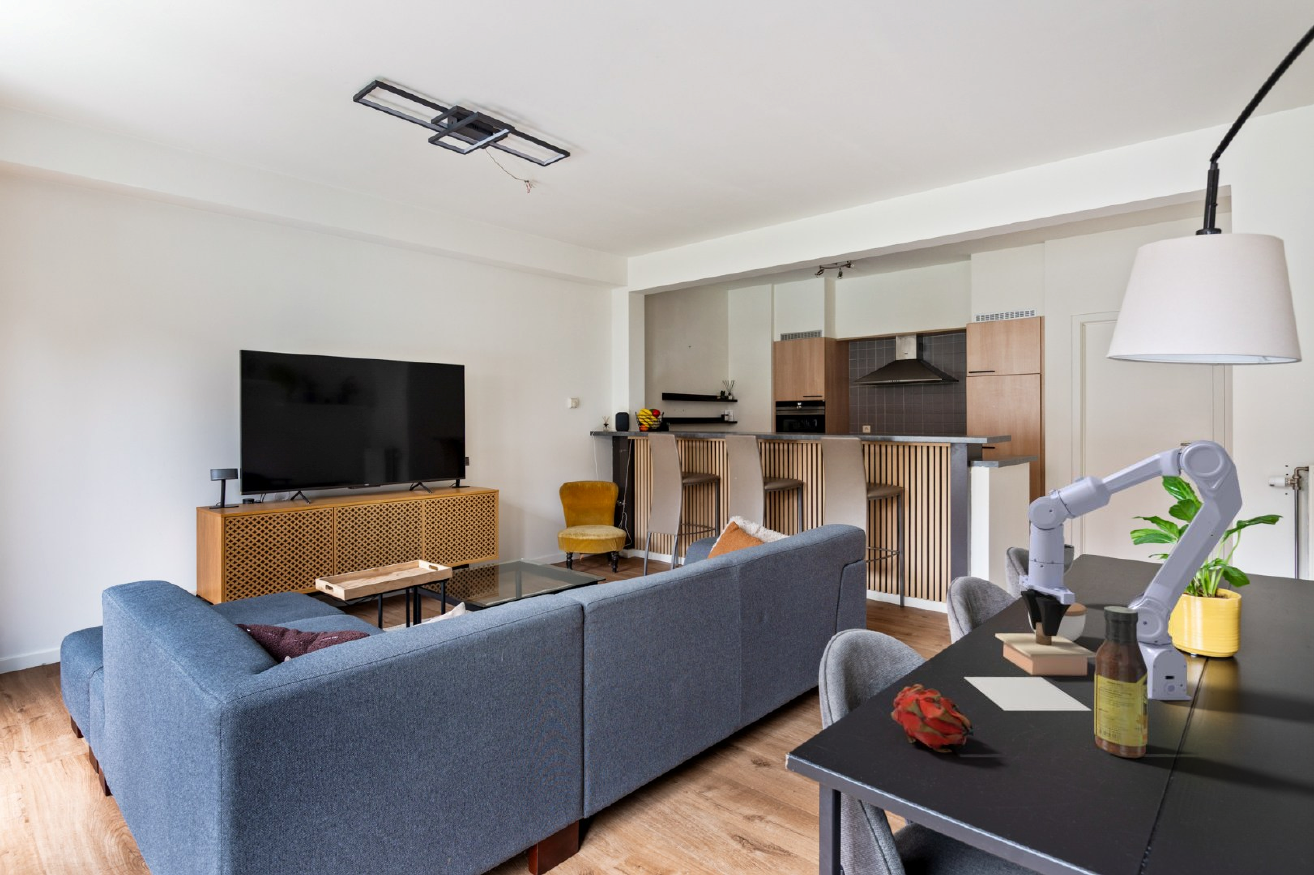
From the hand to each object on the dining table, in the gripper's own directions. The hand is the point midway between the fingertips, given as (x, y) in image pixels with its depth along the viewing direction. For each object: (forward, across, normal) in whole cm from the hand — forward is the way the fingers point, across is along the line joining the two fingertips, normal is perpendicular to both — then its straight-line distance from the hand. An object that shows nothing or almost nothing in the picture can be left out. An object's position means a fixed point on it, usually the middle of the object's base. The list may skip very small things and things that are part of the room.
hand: (1044, 632), depth 129 cm
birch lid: (+3, 0, 0) cm, 3 cm away
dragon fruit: (+7, +30, -34) cm, 46 cm away
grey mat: (+7, +13, -11) cm, 18 cm away
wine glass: (+7, -44, +29) cm, 54 cm away
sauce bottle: (+7, +32, -8) cm, 34 cm away
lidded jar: (+7, -16, +12) cm, 21 cm away
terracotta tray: (+7, 0, 0) cm, 7 cm away
